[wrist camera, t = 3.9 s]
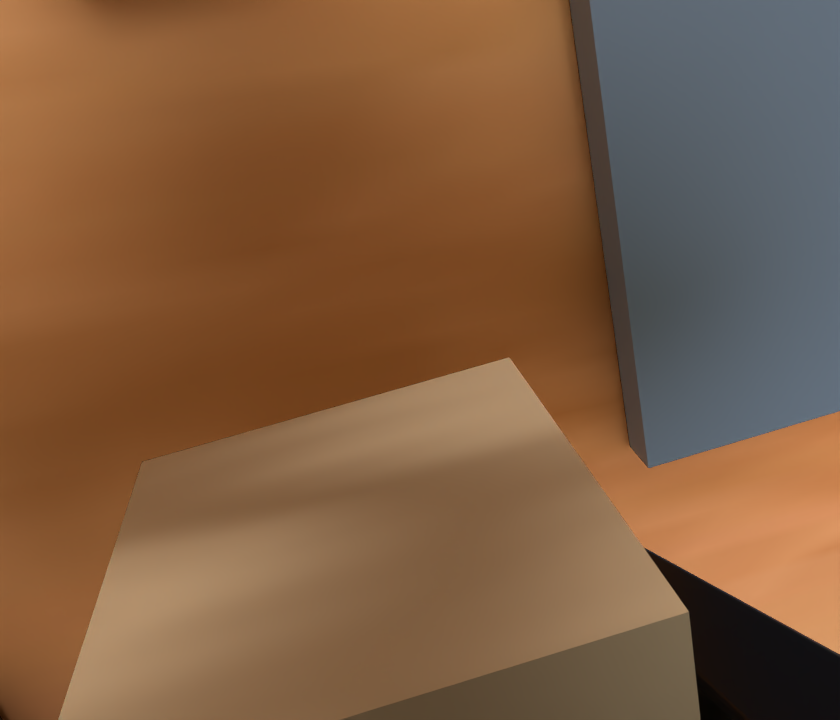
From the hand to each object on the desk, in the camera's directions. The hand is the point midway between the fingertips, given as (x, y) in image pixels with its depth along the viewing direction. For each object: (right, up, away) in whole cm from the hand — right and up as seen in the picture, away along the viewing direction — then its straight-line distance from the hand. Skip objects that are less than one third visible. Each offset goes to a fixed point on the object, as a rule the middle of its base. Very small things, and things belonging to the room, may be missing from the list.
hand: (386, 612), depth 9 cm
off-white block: (0, 0, +1) cm, 1 cm away
